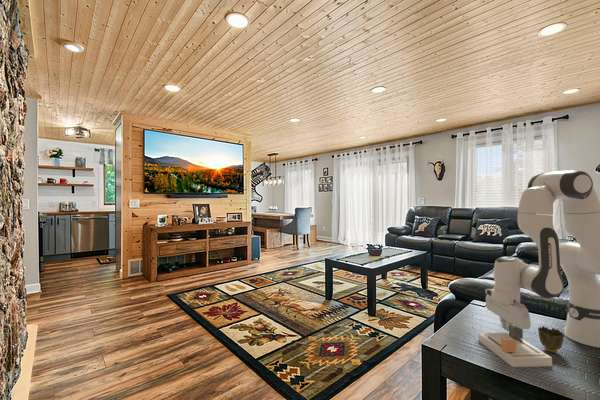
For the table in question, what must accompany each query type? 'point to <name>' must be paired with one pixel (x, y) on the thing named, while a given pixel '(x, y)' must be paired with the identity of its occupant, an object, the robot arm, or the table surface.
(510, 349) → the fader
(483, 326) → the table surface
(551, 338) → the cup
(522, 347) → the mixer console
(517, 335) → the fader
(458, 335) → the table surface
